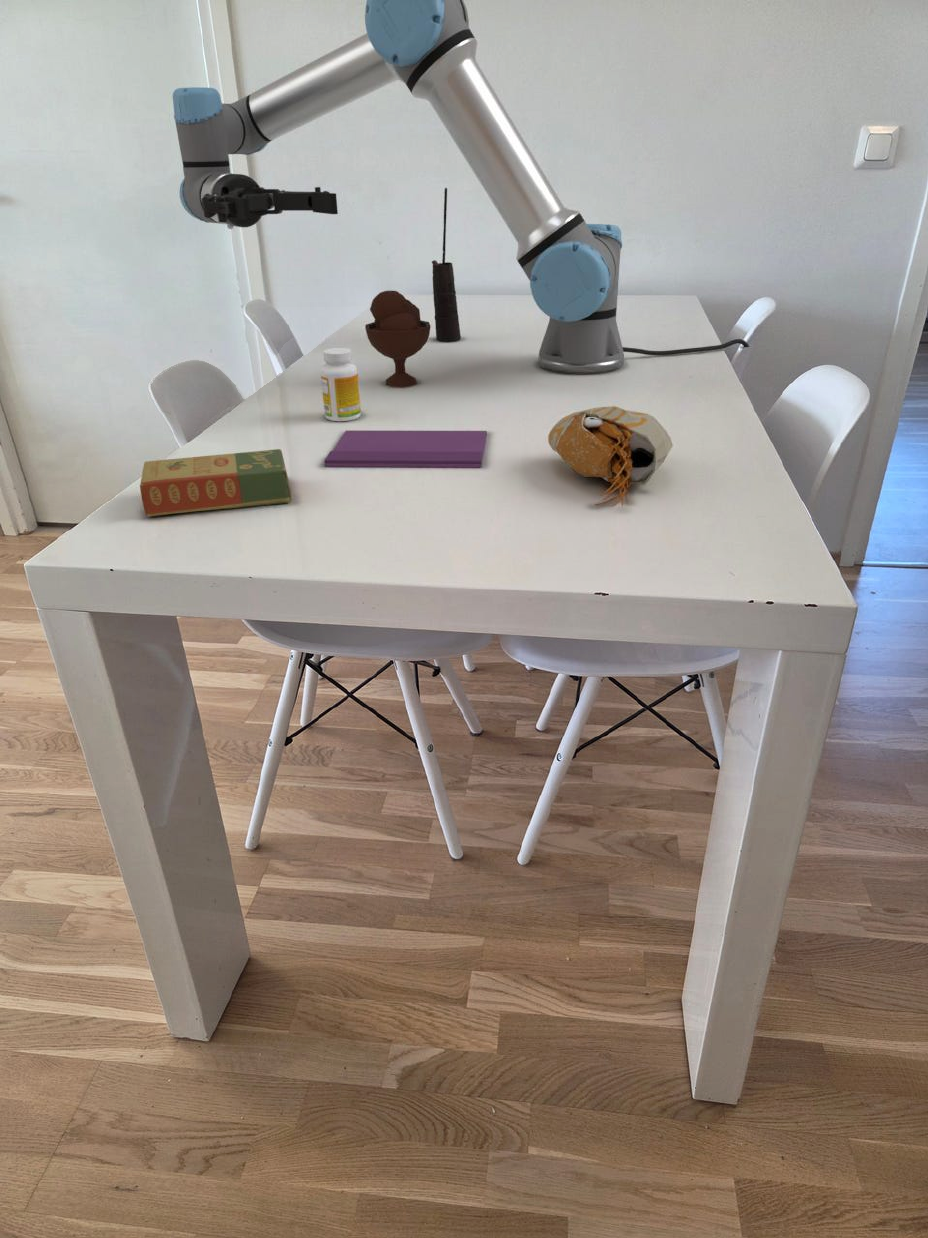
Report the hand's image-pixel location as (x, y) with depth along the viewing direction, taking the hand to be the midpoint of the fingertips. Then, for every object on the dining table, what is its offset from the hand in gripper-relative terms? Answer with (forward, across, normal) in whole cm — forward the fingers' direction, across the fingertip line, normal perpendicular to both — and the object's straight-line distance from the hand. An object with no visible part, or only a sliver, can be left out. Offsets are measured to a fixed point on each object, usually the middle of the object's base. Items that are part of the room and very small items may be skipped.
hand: (292, 206), depth 119 cm
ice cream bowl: (-2, -18, -28) cm, 33 cm away
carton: (+30, +27, -28) cm, 49 cm away
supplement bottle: (+10, 0, -28) cm, 30 cm away
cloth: (+29, 0, -28) cm, 40 cm away
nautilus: (+54, -11, -28) cm, 62 cm away
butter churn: (-27, -44, -28) cm, 58 cm away
